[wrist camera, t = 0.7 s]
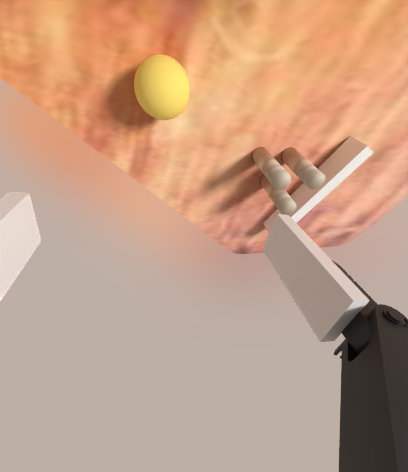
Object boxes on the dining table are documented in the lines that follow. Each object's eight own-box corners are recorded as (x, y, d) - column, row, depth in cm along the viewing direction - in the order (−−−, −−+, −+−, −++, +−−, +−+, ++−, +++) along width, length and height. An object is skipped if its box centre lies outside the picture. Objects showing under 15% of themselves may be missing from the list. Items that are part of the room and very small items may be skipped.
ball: (149, 37, 24) (149, 40, 20) (195, 75, 27) (204, 85, 23) (126, 92, 27) (122, 105, 23) (171, 121, 30) (174, 137, 26)
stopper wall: (350, 135, 36) (367, 145, 33) (356, 142, 37) (373, 152, 34) (263, 223, 46) (270, 236, 43) (269, 226, 47) (277, 239, 44)
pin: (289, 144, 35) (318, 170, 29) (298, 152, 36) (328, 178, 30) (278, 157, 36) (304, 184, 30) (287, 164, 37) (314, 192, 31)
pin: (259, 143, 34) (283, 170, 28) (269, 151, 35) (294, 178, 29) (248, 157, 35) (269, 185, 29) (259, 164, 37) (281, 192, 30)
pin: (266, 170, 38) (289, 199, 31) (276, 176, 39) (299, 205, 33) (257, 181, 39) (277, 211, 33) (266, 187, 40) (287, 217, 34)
